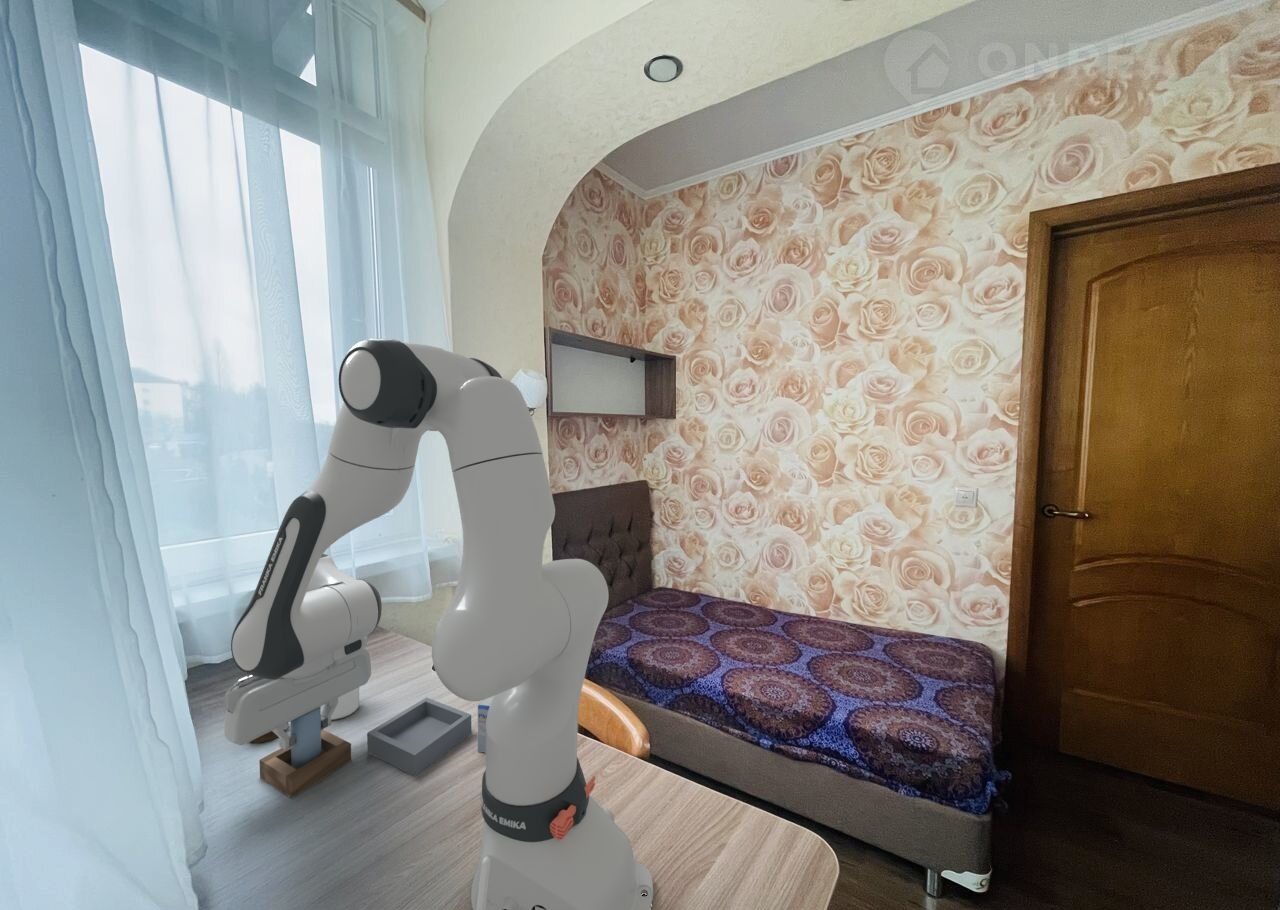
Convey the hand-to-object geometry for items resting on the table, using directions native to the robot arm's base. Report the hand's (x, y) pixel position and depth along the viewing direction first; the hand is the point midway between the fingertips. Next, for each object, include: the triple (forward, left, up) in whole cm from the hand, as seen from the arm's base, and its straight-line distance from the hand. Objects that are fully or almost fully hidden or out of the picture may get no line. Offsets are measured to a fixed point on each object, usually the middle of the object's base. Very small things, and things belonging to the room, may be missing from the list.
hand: (306, 736), depth 75 cm
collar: (0, 0, -6) cm, 6 cm away
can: (+11, -12, -6) cm, 17 cm away
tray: (-11, -13, -6) cm, 18 cm away
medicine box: (-23, -20, -6) cm, 31 cm away
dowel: (0, 0, -6) cm, 6 cm away
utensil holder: (+16, -2, -6) cm, 17 cm away
